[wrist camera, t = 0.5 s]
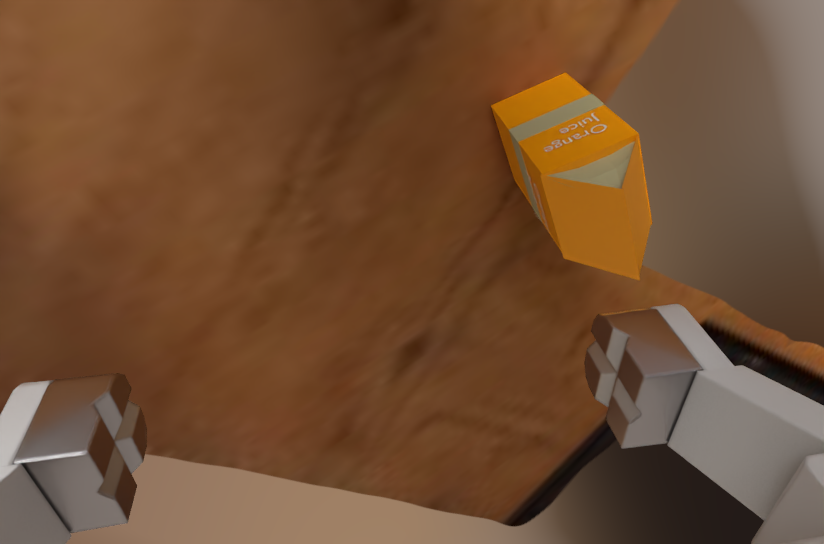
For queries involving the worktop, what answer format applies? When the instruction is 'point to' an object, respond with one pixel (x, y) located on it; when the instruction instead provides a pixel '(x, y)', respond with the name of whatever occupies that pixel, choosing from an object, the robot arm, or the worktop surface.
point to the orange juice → (579, 173)
